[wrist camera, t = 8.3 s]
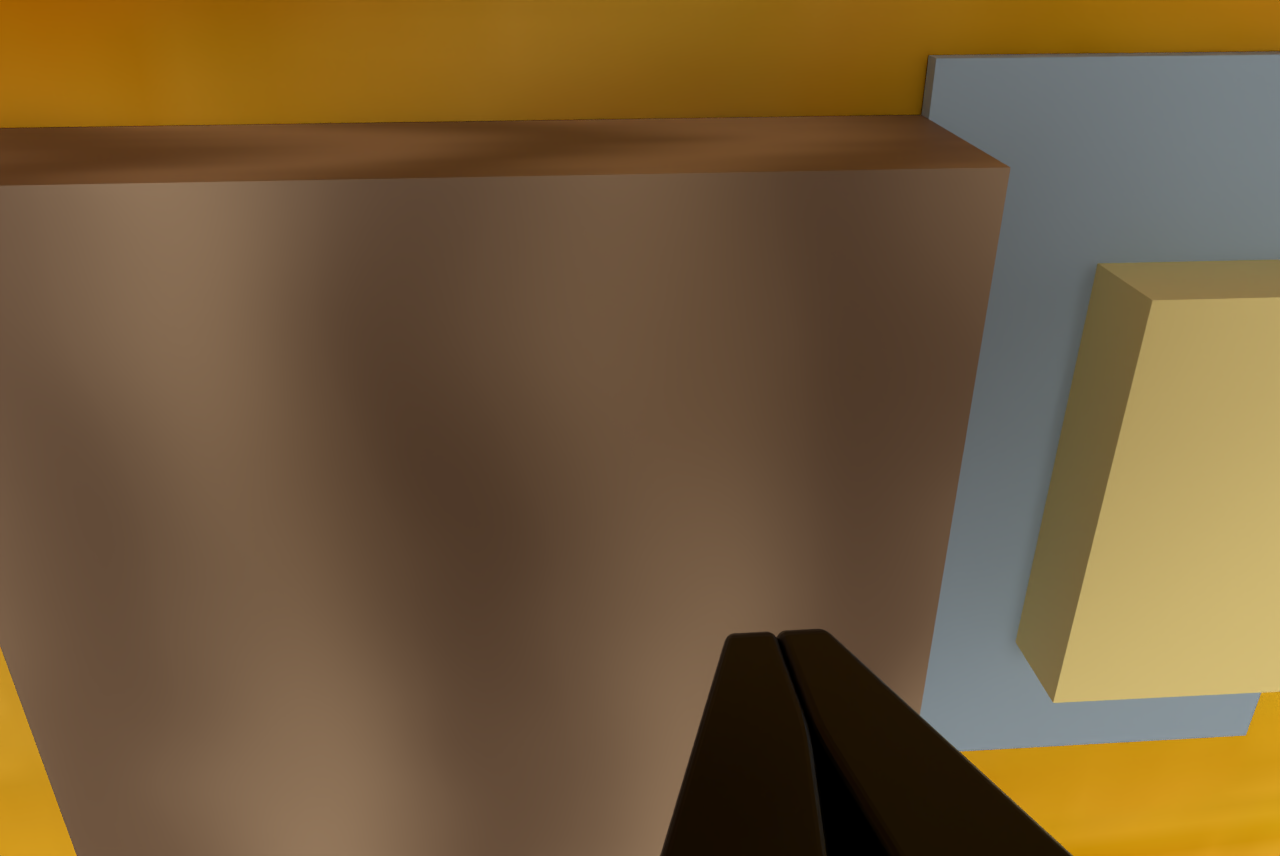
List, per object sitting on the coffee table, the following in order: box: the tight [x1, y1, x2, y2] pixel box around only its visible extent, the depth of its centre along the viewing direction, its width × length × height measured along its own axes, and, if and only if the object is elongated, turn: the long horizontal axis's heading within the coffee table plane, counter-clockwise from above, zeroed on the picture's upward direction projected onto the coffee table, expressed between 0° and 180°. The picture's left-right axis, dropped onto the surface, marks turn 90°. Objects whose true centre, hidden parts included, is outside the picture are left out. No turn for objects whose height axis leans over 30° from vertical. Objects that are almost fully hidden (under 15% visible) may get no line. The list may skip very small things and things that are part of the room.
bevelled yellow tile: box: [1016, 259, 1280, 703], centre depth 21 cm, size 6×9×2 cm, turn 0°
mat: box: [920, 51, 1280, 751], centre depth 21 cm, size 10×16×1 cm, turn 0°
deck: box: [0, 115, 1011, 856], centre depth 19 cm, size 16×14×4 cm
